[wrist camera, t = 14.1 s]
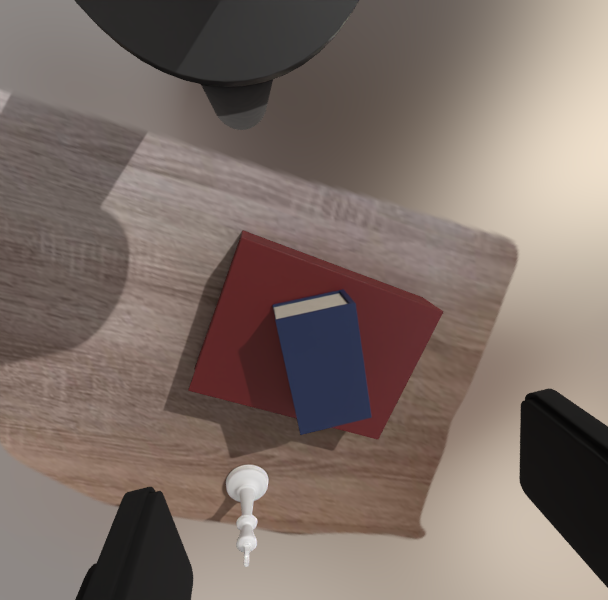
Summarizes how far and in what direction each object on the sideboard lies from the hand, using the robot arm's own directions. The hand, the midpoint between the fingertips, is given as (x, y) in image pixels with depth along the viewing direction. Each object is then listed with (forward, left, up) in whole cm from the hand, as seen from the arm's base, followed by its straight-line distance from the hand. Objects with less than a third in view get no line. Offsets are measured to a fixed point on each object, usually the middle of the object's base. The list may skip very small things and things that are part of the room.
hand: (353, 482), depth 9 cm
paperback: (+6, +6, -24) cm, 25 cm away
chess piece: (+26, +6, -28) cm, 39 cm away
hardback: (+6, +6, -28) cm, 30 cm away
